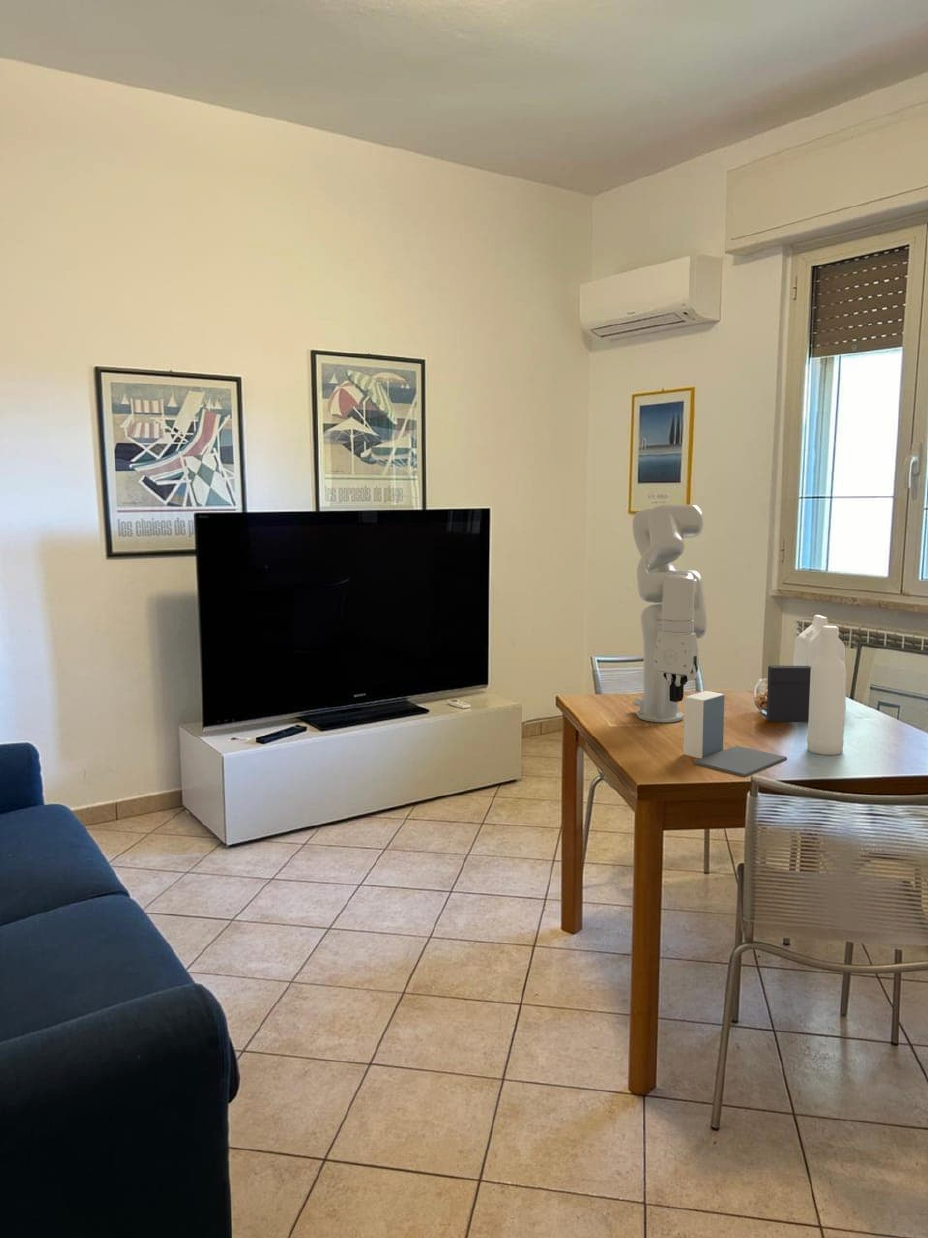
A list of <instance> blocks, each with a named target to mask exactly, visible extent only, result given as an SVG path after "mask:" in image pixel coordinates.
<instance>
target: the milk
mask: <svg viewBox="0 0 928 1238" xmlns="http://www.w3.org/2000/svg"><path fill="white" fill-rule="evenodd" d="M823 626H829V622H828V617H827V616H823V615H820V614H815V615H814V616H813V619H812V622H811V624H810V625H809V626H808V627H807V628H805V630H803V631H802V632H801V633H799V635H797V637H796V638H795V640H794V643H793V644H794V646H793V654H792V656H793V658H792V666H810V667H812V665H813V662H814V661H815V660H816V659H817V658H818V657H820V656H821V639H822V635H821V631H822V627H823ZM837 657H838V658H839V659H840V660H841V661H842V662H843V663H844V665H845V666H846V646H845V644H844V642H843V641H842V639H841V638H840V637H838V654H837ZM846 697H847V696H845V710H846V702H847V701H846Z"/></svg>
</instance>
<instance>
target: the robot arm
mask: <svg viewBox="0 0 928 1238" xmlns="http://www.w3.org/2000/svg"><path fill="white" fill-rule="evenodd" d="M703 527H704V516H703V512H702V510H701V509H700V507H699V506H698V505H695V504H663V505H657V506H655V507H653V508H645V509H642V510H639V511H637V512H636V513H635V514H634V515H633V519H632V534H633V539H634V542H635V545H636V548H637V550H638V552H639V555H640V559H639V561H638V564H637V568H636V579H637V580H636V581H637V588H638V589H637V590H638V594H639V597H640V599H641V600H643V601H644V602H647V603H653V604H650V605H647V606H646V607H644V608H643V610H642V612H641V615H640V624H641V633H642V641H643V642H642V643H643V671H642V672H643V675H642V676H643V678H642V679H643V680H642V681H643V683H642V684H643V685H642V686H643V690H642V693H643V694H642V698H640V697H635V698H634V701H632V705H633V706H635V707H638V708H639V710H637V712H636V715H637V718H639V719H640V720H643V721H647V722H651V723H666V724H667V723H675V722H679V721H682V720H684V713H683V712H682V711H680V710H679V702H683V700H684V694H685V693H684V689H685V687H684V686H685V685H686V684H687V683H688V682H689V681H695V680H697V679H698V674H697V672H698V671H699V661H700V660H699V659H700V657H699V645H698V644H699V643H698V639H701V638H703V637H704V636H705V635H706V634H707V633H706V632H707V629H708V618H707V609H706V606H707V605H706V601H705V600H706V599H705V598H706V597H705V589H704V582H703V578H702V576H701V574H700V573H699V572H698V571H696V570H693V569H675V566H674V561H677V560H678V559H679V558H681V556H682V555H683V553H684V551H685V541H684V539H691V538H695V537H696V538H697V537H698V536H700V535H701V533H702V531H703V529H704V528H703Z"/></svg>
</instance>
